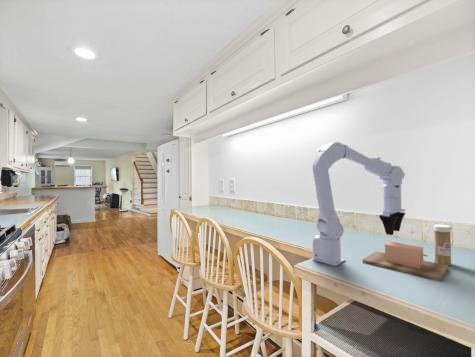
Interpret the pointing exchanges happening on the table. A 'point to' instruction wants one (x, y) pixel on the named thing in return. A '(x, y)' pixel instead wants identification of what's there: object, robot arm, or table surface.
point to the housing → (404, 254)
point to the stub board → (426, 270)
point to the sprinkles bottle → (442, 244)
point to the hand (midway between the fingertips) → (392, 232)
